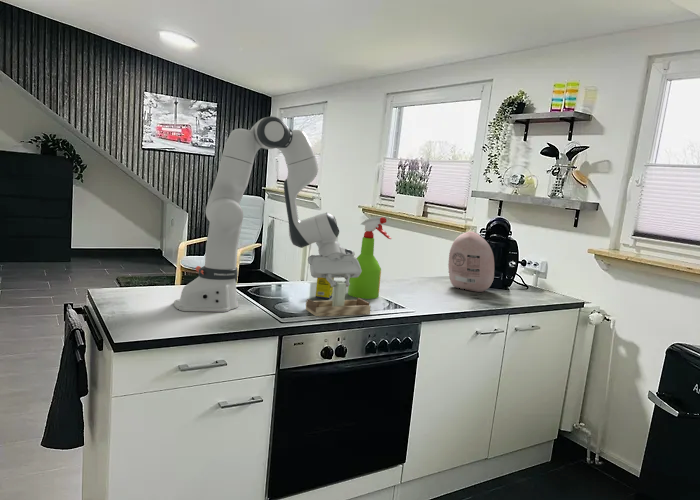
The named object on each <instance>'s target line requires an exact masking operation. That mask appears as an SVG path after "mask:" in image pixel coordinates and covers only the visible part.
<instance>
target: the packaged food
mask: <svg viewBox="0 0 700 500" xmlns="http://www.w3.org/2000/svg"><path fill="white" fill-rule="evenodd" d="M495 264H496V262H495V255H494V251H493V249H492V247H491V245H490V243H489V242H488V240H487V239H485V238H484V237H483V236H482V235H481V234H479V232H478V233H477V232H476V231H466V232H464V233H461V234H459V235H458V236H457V237H456V238H455V239H454V241H453V242H452V244H451V247H450V249H449V255H448V264H447V265H448V266H447V267H448V277H449V281H450V283H451V285H452V286H453V287H454V288H457V289H459V288H460V289H461V290H464V289H465V290H466V291H470V292H474V293H475V292H476V293H481V292H482V293H483V292H485V291H487V290H488V289H489V288H491V286H492V283H494V282H493V281H494V278H495V271H496V267H495V266H496V265H495ZM465 290H464V291H465Z"/></svg>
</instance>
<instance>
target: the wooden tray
mask: <svg viewBox="0 0 700 500" xmlns="http://www.w3.org/2000/svg"><path fill="white" fill-rule="evenodd" d="M332 301H333V299H331V300H330V299H328V300H312V299H310V298H307V301H305V310H306V311H307V312H308V313H310V314H312V315H314V316H315V317H316V316H319V317H334V316H335V317H337V316H341V317H342V316H357V315H358V316H360V315H363V316H364V315H370V314H371V305H370V302H369V301H367V300H365V299H363V298H356V299H345V302H344V306H334V307H332Z"/></svg>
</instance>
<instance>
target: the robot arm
mask: <svg viewBox="0 0 700 500" xmlns="http://www.w3.org/2000/svg"><path fill="white" fill-rule="evenodd" d="M274 149H278V151H280V152H281V154H282V156H283V157H284V160H285V163H286V164H285V165H286V168H287V177H286V179H285V180H284V182H283V193H284V200H285V207H286V208H285V209H286V215H287V221H288V236H289V240H290V241H291V243H292V245H293V246H295V247H297V248H302V249H303V248H305V247H307V246H310V245H311V244H314V243H315V244H316V246H317V248H318V255H317V254H316V255H315V254H310V255H309V256H308V257H307V262H308V264H309V273H310V276H311V277H312V278H315V279H317V278H326V280H327V281H328V282H329V283H330V284H331V287H333V288H334V287H335V286H336V280H333V279H332V278H334V279H335V278H336V279H339V278H340V279H341V278H344V280H345V281H344V283H346V288H347V287H349V285H350V283H349V279H350V278H357V277H359V275H360V274H361V272H362V270H361V267H360V264H359V262H358V260H357V256H356V257H355V255H356V254H355V251H354V250H352V249H348V248H345V247H343V246H341V244H340V242H339V237H338V236H339V235H340V228H339V227H338V224H337V219H336V217H335V216H334V215H333V214H331V213H330V212H323V213H320V214H319V213H318V214H316V215H314V216H310V217H308V218H305V219H299V214H298V213H299V212H298V206H297V196H298V195H299V193H300V192H301V191H302V190H303V189H304V188H306V187H307V186H309V185H310V184H311V183H312V182H313V181H314V180H315V179H316V177H317V176H318V173H319V166H318V165H319V164H318V161H317V157H316V154H315V151H314V148H313V146H312V143H311V142H310V139H309V137H308V136H307V134H306V133H305V131H303V130H300V129H291V128H290V127H289V126H288V125H287V123H285V122H284V121H283V120H282V119H281V118H280V117H276V116H272V115H271V116H266V117H263V118H260V119H259V120H257V122H255V123H254V124H253V125H252V126H251V127H250V128H249V129H246V128H236V129H233V130H232V131H231V132H230V134H229V136H228V138H227V140H226V143H225V144H224V148H223V152H222V154H221V157H220V162H219V165H218V166H219V167H218V170H217V174H216V177H215V180H214V183H213V186H212V189H211V192H210V194H209V197H208V200H207V204H206V207H205V217H206V219H207V220H208V221H209V225H208V233H207V237H206V243H205V258H204V266H200V265H197V266H196V267H195V271H196V272H197V273H198V277H196V278H194V280H192V281H190V282H189V283H187V284H186V285H184V286H183V288H182V289H181V294H180V298H177V299H175V300H174V301H173V307H174V308H175V309H176V310H178V309H179V311H182V312H219V313H221V312H223V313H224V312H225V313H226V312H229V311H231V310H233V309H236V308H238V307H239V302H238V294H237V293H238V292H237V282H238V272H239V271H238V267H237V263H238V248H239V242H240V236H241V231H242V225H243V220H244V212H243V208H242V207H241V205H240V203H241V202H242V199H243V196H244V193H245V191H246V189H247V188H248V185H249V182H250V177H251V174H252V170H253V165H254V162H255V157H256V155H257V152H259V150H274Z"/></svg>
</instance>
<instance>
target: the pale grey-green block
mask: <svg viewBox="0 0 700 500" xmlns="http://www.w3.org/2000/svg"><path fill="white" fill-rule="evenodd" d="M335 281H336V280H335ZM344 282H345V281H344ZM344 282H343V281H339V280H337V281H336V286H335V287H333V293H332V300H333V301H332V307H334V306H344V302H345V300H346V290H347V289H346V288H347V287H346V283H344Z"/></svg>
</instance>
